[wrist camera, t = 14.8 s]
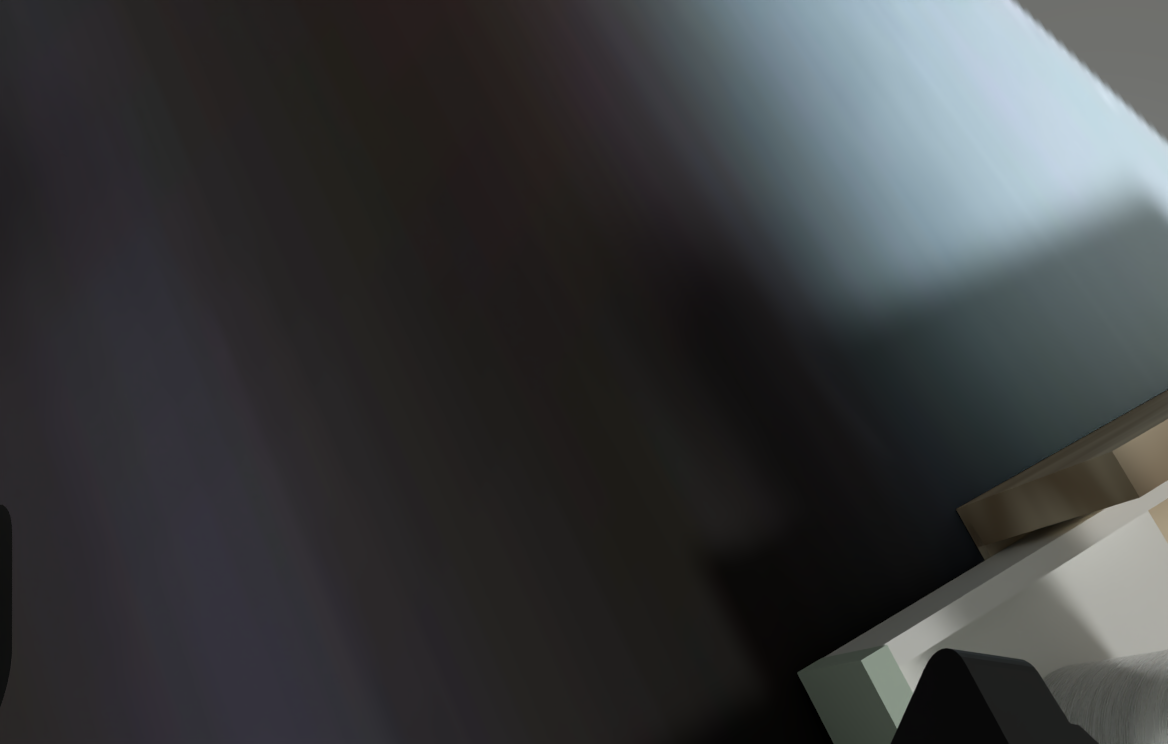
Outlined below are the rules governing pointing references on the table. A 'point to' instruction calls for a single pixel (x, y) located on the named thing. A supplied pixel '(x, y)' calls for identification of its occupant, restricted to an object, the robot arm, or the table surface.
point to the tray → (1010, 616)
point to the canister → (1116, 697)
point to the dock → (1078, 480)
